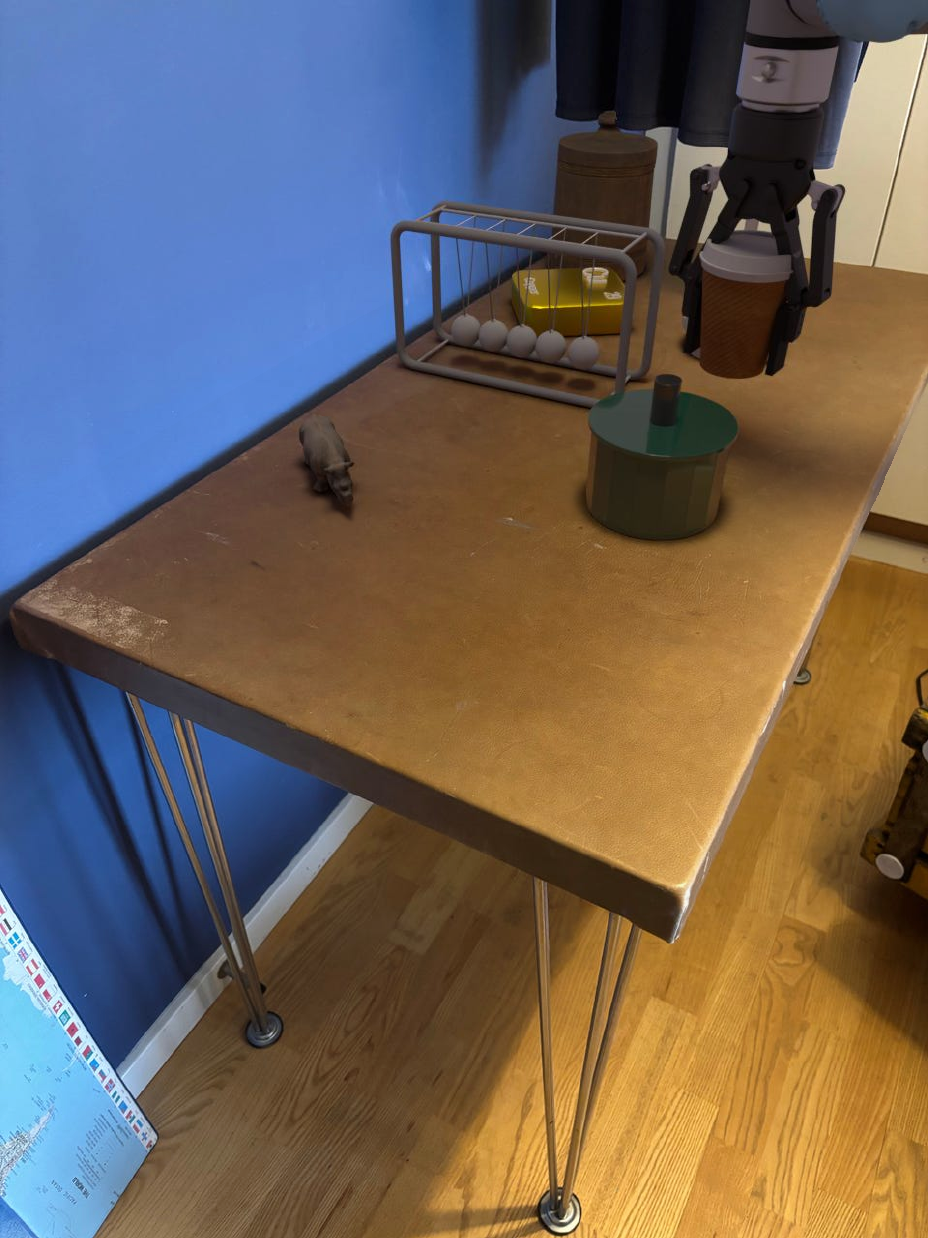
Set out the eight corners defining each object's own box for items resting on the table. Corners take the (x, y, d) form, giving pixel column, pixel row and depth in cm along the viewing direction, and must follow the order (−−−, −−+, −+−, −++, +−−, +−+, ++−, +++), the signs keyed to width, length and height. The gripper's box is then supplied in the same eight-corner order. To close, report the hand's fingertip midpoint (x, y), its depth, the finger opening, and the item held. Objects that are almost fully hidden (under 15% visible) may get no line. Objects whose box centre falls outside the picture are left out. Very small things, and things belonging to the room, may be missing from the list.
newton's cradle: (650, 381, 111) (669, 229, 100) (620, 415, 104) (637, 255, 93) (436, 338, 122) (432, 197, 111) (395, 367, 115) (387, 219, 104)
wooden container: (655, 260, 147) (674, 106, 133) (626, 289, 137) (643, 125, 123) (569, 248, 152) (579, 99, 138) (535, 275, 142) (541, 116, 128)
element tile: (509, 299, 134) (509, 266, 131) (609, 295, 135) (612, 262, 132) (524, 339, 122) (525, 303, 119) (634, 333, 123) (638, 298, 120)
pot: (738, 498, 90) (755, 419, 85) (677, 556, 82) (691, 473, 77) (628, 460, 96) (637, 384, 91) (561, 510, 89) (566, 431, 83)
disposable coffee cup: (680, 381, 89) (699, 255, 82) (685, 344, 96) (703, 225, 89) (781, 391, 87) (810, 263, 80) (779, 352, 95) (805, 231, 87)
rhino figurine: (329, 526, 87) (322, 471, 83) (297, 460, 97) (289, 408, 93) (371, 518, 88) (366, 462, 84) (334, 453, 98) (329, 401, 94)
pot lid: (761, 425, 85) (772, 373, 82) (692, 483, 77) (702, 429, 74) (634, 387, 92) (640, 337, 89) (558, 437, 84) (562, 385, 80)
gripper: (649, 96, 80) (622, 346, 94) (889, 125, 70) (819, 400, 84) (689, 84, 85) (658, 324, 99) (920, 110, 74) (849, 373, 89)
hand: (732, 359), depth 91 cm, fingers closed on disposable coffee cup, 8 cm apart
